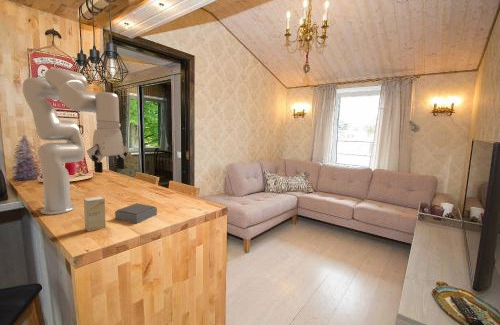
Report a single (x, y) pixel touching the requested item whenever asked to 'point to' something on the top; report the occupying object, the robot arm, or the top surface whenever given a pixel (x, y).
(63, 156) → the robot arm
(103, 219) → the skincare box
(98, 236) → the top surface
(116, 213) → the stand
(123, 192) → the top surface
